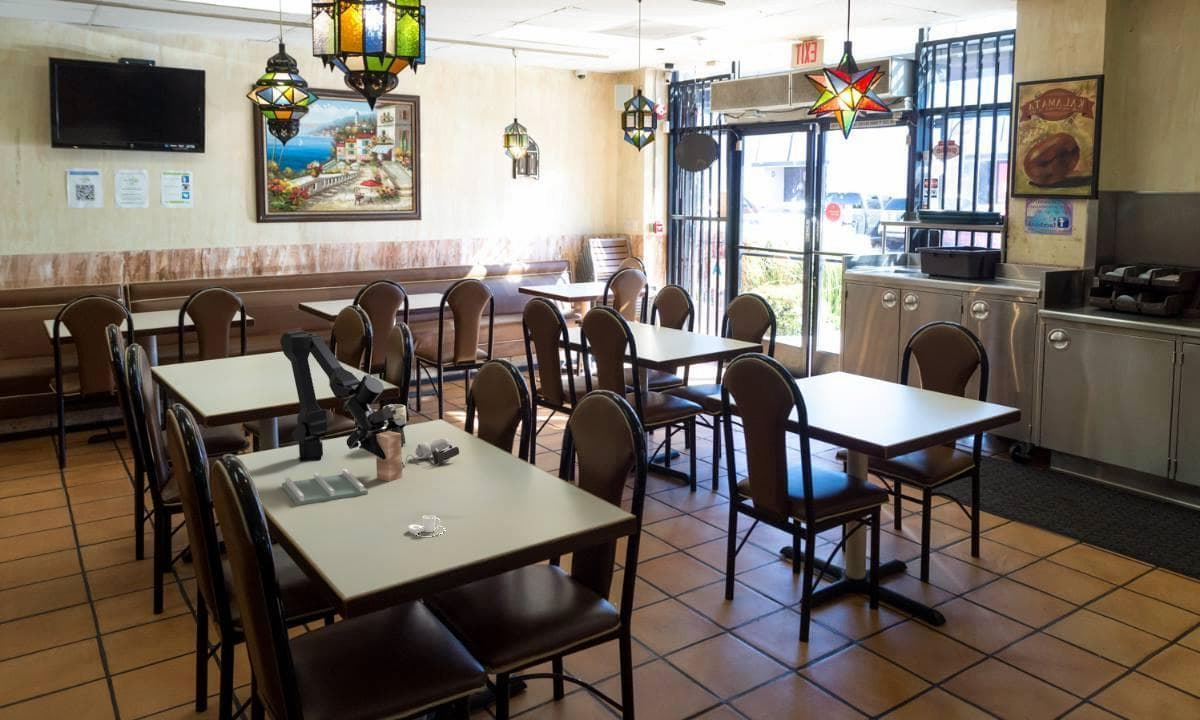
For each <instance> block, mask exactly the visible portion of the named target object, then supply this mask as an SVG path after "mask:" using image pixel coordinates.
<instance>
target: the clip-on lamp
mask: <svg viewBox="0 0 1200 720" xmlns="http://www.w3.org/2000/svg"><path fill="white" fill-rule="evenodd" d="M459 454H460V448H459V446H454V447H453V445H451V444H450V440H449V439H448V438H447V437H442V438H439V439H436V440H433V441H431V442H426V441H424V442H422V441H421V442H420V443H418V444H417V448H416V449H415V455H416V456H417V457H416V456H414V455H413V454H411V453H409V454H408V455H407V456H406V458H405V461H402V467H405V466H406V465H407V461H408V458H409V457H411V458H413V459H414V460H419V459H420V460H427V459H429V458H431V456H432V459H433V462H434V465H436V464H438V466H442V465H444V462H445V461H447V460H449V459H451V458H454V457H456V456H458V455H459Z"/></svg>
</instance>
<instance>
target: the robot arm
mask: <svg viewBox="0 0 1200 720" xmlns="http://www.w3.org/2000/svg"><path fill="white" fill-rule="evenodd" d="M324 339H325V338H324V337H323V336H322V335H320V334H316V333H307V332H306V331H305V330H297V331H290V332H288V331H287V332H284V333H283V334H282V335H281V338H280V340H279V341H280V346H281V350H282V352H283V355H285V357H286V358H287V359H288V360H289V361H290V363H291V368H292V374H293V378H294V379H293V380H294V383H295V388H296V392H297V397H298V398H297V399H298V403H299V406H300V407H299V408H300V409H299V412H298V414H297V419H296V420H297V426H296V427H295V429H294V430H293V432H292V433H291V436H292V440H293V441H295V442H298V453H299V457H298V461H299V462H308V461H309V462H310V461H320V460H322V457H323V456H324V449H323V448H324V446H323V445H324V442H323V441H321V438H326V435H327V430H328V428H329V427H328V426H329V425H328V423H329V420H328V417H327V416H328V415H327V411H326V409H322V408H321V407H320V405H318V402H317V397H316V393H315V387H314V383H313V378H312V373H311V368H310V367H311V366H310V363H309V357H310V354H311V355H312V357H313V358H314V359H315V361H316V362H317V364H319V366H320V368H321V369H322V370H323V372H324V374H326V376H327V378H328V380H329V385H328V386H329V387H330V390H331V391H332V393H333V395H334V397H335V398H336V399H339V400H344V399H347V398H349V399H348V400H347V401H344V402H343V407H342V410H343V411H342V412H348V411H349V412H350V414H351V416H353V418H354V419H355V423H354V426H355V427H360V428H359V429H355V430H353V431H352V432H351V434H350V435H349V436H348V438H347V439H346V445H347V447H348V448H349V450H352V449H356V448H359V450H361V449H362V450H364V451H367V452H368V453H370V454H372V455H374V456H378V457H380V458H381V459H383V460H385V459H386V456H385V454H384V452H383V450H382V449H381V447H380V446H379V444H378V442H377V439H376V434H379V433H383V432H387V431H391V432H396V433H400V432H401V430H402V429H403V430H404V428H405V426H407V422H406V423H405V422H404V420H403V419H401V418H398V419H395V420H391V421H390V423H389V424H388V425H387V426H386V427H385V426H384V424H386V423H387V421H386V420H388V419H390V418H394V416H393V415H394V414H396V410H395V408H394V406H393V404H392V403H390V404H387V406H386V405H384V406H385V407H384V406H383V407H384V409H383V408H380V409H379V410H378V409H377V408H375V409H373V407H372V406H371V405H372V404H374V402H376V401H377V399H378V397H380V395H381V394H382V392H383V391H384V384H383V382H382V381H380V380H379V379H377V378H375V377H373V376H371V374H366V375H364V376H363V377H362V379H361V380H359V379H358V378H357V376H355V375H354V373H352V372H351V371H349V370H348V369H345V368H344V367H343V366H342V365H341V363H340V362H339V360H338V358H336V357H335V355H334V354H333V352H332V350H331V349H330V348H329V347H328V346H327V344H326V343H325V340H324ZM359 444H360V445H359Z"/></svg>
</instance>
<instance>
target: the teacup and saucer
mask: <svg viewBox="0 0 1200 720" xmlns="http://www.w3.org/2000/svg"><path fill="white" fill-rule="evenodd" d="M437 520H438V521H439V522H438V526H440V527H443V526H442V525H441V519H440V518H439V517H436V515H435V514H426V515H422V525H420V524H410V525H408V526H407V531H408V532H409V533H411V534H413V535H414V536H416V535H417V536H416V537H420V536H419V535H418V534H415V533H419V534H420V533H422V532H423V530H424V532H425V533H426V532H431V533H433V531H434V532H435V531H436V530H437V529H439V528H438V526H437V527H436V528H435V525H436V521H437ZM422 527H424V528H422ZM443 529H446V527H444V528H443ZM444 531H445V532H446V530H444ZM439 533H440V532H439ZM440 534H441V535H443V534H444V533H443V532H442V533H440ZM440 534H439V535H438V536H441V535H440ZM433 535H434V537H436V536H435V534H433ZM420 538H432V536H421V537H420Z"/></svg>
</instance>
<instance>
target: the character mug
mask: <svg viewBox="0 0 1200 720" xmlns="http://www.w3.org/2000/svg"><path fill="white" fill-rule="evenodd" d="M387 405H388V404H387ZM387 405H384V406H383V407H382V409H384V407H385V406H387ZM392 405H393V406H394V408H395V410H396V414H394V415H393V416H394V418H390V419H388V420H386V421H387V423H386V424H384V425H383V426H384V427H386V426H387V425H388V424H389V423H390V421H391V420H395V419H398V418H401V419H403V420H404V422H405V423H406V424H407V415H406V413H407V412H406V411H407V410H406V405H404V404H399V403H398V404H397V403H395V404H392ZM400 433H401V446H403V445H405V444H406V436H405V431H404V428H403V429H402V430H401V432H400Z"/></svg>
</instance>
